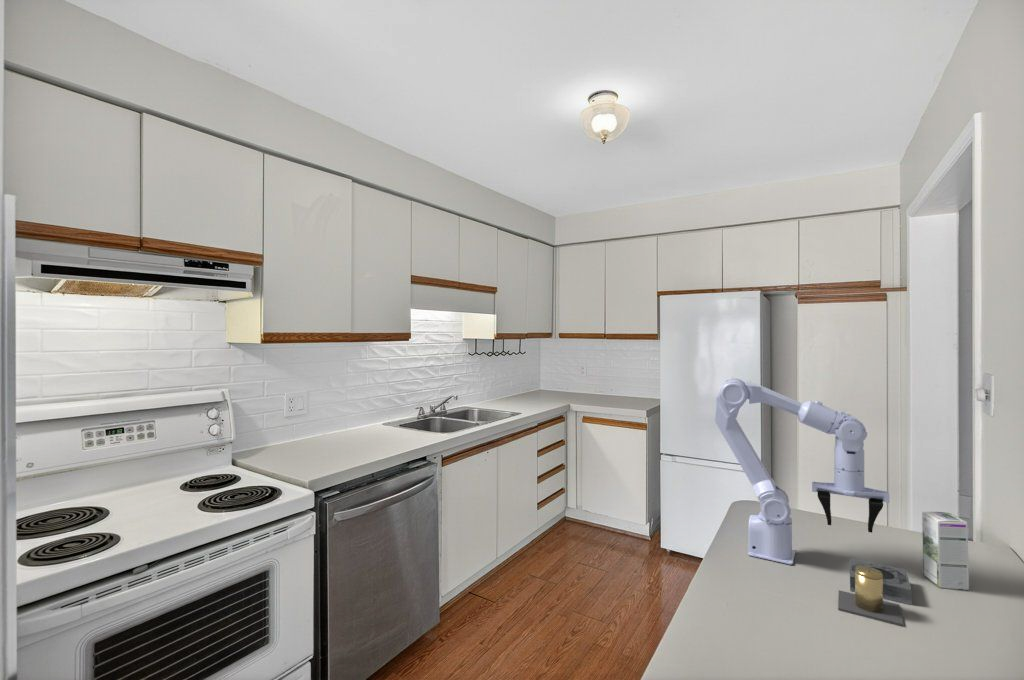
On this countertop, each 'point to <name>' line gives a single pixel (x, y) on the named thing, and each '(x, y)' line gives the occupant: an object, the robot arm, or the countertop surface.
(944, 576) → the syrup box
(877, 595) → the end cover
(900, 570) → the housing
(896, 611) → the rubber mat
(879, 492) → the robot arm
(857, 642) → the countertop surface
